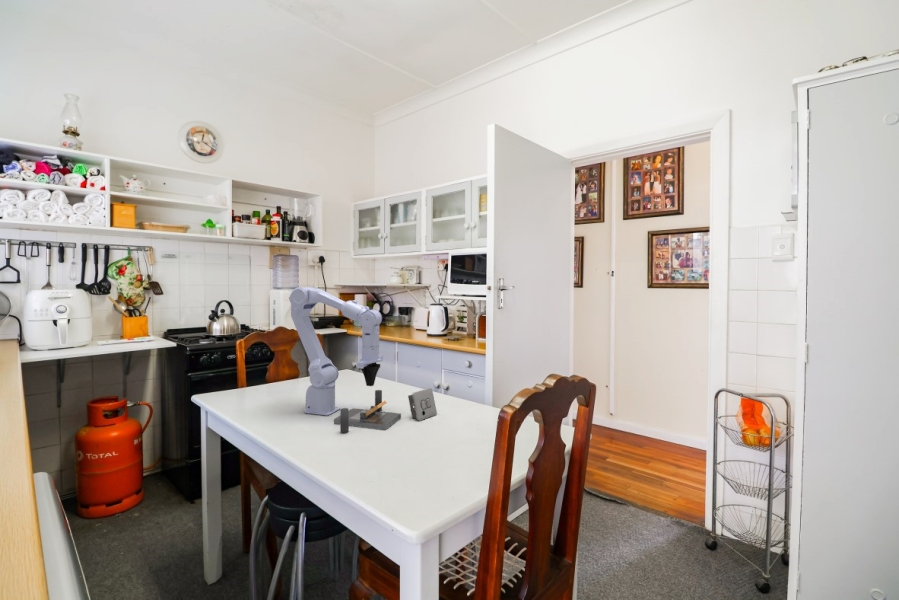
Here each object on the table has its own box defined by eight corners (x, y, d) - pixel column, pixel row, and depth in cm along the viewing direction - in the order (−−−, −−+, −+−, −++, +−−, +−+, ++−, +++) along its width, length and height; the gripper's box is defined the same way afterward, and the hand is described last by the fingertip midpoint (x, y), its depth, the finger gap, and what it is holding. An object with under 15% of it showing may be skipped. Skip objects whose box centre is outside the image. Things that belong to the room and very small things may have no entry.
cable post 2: (373, 410, 152) (373, 391, 152) (376, 409, 155) (376, 389, 154) (380, 411, 152) (380, 391, 151) (382, 409, 154) (383, 390, 154)
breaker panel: (334, 423, 138) (334, 412, 138) (352, 412, 150) (352, 401, 150) (385, 430, 133) (385, 418, 133) (400, 418, 145) (401, 407, 145)
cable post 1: (338, 432, 130) (338, 410, 130) (343, 430, 133) (343, 407, 132) (345, 433, 130) (345, 410, 129) (350, 431, 132) (350, 408, 132)
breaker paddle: (360, 415, 139) (376, 404, 137) (369, 409, 145) (384, 399, 143) (363, 419, 139) (379, 409, 137) (372, 413, 145) (387, 403, 143)
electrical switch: (418, 421, 142) (417, 393, 142) (407, 420, 145) (406, 392, 145) (437, 415, 149) (435, 388, 149) (426, 413, 152) (424, 387, 152)
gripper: (371, 349, 138) (370, 392, 139) (390, 343, 152) (390, 381, 152) (351, 348, 140) (351, 389, 141) (372, 342, 154) (372, 380, 154)
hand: (370, 385), depth 147 cm, fingers closed
